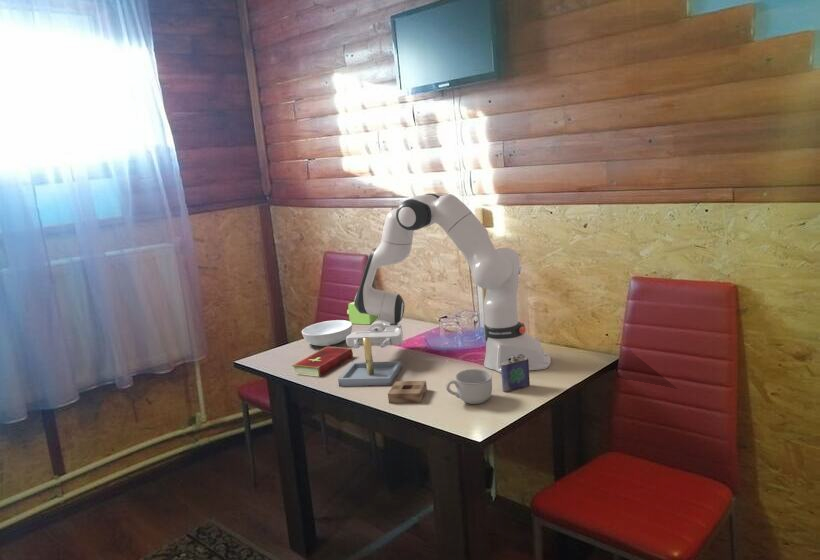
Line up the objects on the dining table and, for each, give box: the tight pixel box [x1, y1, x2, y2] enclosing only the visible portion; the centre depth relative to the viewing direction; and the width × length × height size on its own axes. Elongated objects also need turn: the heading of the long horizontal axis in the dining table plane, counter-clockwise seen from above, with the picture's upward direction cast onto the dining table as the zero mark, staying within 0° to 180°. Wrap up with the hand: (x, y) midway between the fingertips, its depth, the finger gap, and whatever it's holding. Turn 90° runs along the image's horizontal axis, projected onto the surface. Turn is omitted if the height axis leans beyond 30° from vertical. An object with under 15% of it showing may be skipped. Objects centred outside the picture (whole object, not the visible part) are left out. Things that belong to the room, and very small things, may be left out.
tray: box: [337, 360, 403, 387], centre depth 212 cm, size 18×16×2 cm
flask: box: [500, 354, 531, 393], centre depth 188 cm, size 9×3×11 cm, turn 110°
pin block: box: [387, 380, 428, 404], centre depth 192 cm, size 10×10×3 cm
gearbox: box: [346, 301, 379, 325], centre depth 283 cm, size 18×10×10 cm, turn 64°
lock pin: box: [363, 337, 374, 375], centre depth 211 cm, size 2×2×13 cm
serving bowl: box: [301, 319, 353, 347], centre depth 257 cm, size 21×21×7 cm
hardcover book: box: [291, 346, 354, 378], centre depth 229 cm, size 12×21×4 cm, turn 151°
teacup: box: [445, 368, 493, 405], centre depth 183 cm, size 14×11×8 cm
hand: (369, 345), depth 212 cm, fingers open, 8 cm apart
